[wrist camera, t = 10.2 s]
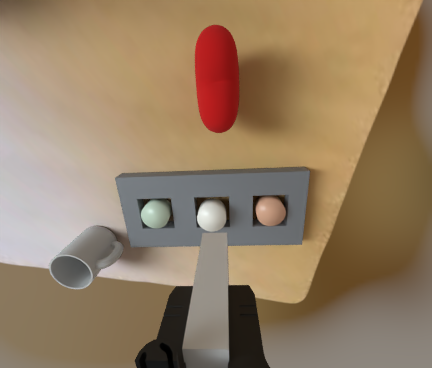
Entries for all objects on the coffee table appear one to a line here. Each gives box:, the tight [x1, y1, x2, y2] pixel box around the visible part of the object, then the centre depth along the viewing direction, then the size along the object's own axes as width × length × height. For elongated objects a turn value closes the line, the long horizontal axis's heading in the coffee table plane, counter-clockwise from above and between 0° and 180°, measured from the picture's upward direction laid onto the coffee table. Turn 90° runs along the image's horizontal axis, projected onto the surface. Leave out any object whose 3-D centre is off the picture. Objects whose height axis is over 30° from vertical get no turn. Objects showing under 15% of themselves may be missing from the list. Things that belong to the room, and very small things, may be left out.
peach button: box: [255, 195, 286, 226], centre depth 37 cm, size 5×5×3 cm
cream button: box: [197, 198, 226, 232], centre depth 36 cm, size 5×5×3 cm
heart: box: [195, 25, 239, 133], centre depth 28 cm, size 12×5×10 cm, turn 3°
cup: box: [49, 226, 123, 289], centre depth 39 cm, size 7×10×9 cm
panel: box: [115, 167, 310, 247], centre depth 38 cm, size 32×14×2 cm, turn 93°
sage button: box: [141, 198, 172, 228], centre depth 38 cm, size 5×5×3 cm
